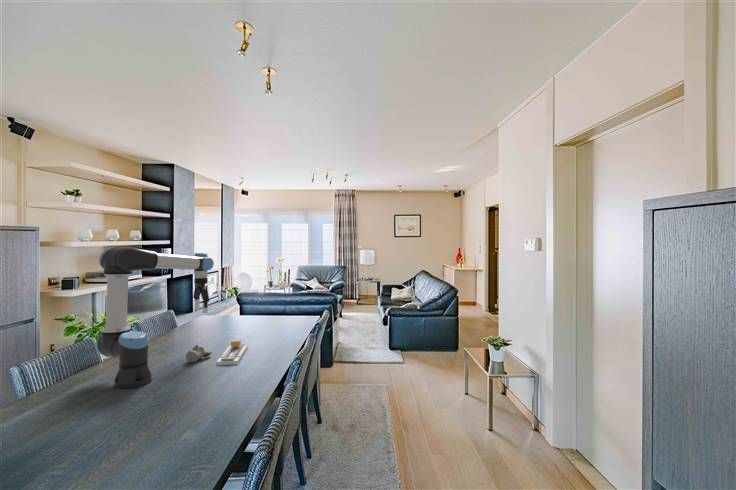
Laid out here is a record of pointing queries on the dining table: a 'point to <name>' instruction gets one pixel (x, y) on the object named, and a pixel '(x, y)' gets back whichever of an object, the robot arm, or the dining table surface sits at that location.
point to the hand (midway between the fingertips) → (201, 311)
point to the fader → (235, 344)
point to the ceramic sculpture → (196, 354)
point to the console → (232, 355)
